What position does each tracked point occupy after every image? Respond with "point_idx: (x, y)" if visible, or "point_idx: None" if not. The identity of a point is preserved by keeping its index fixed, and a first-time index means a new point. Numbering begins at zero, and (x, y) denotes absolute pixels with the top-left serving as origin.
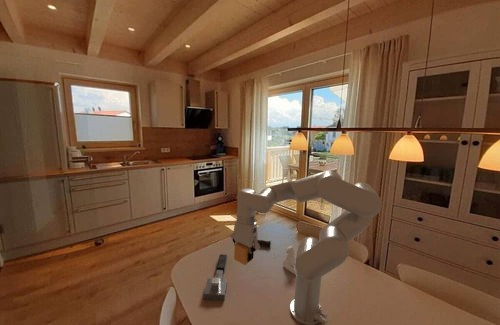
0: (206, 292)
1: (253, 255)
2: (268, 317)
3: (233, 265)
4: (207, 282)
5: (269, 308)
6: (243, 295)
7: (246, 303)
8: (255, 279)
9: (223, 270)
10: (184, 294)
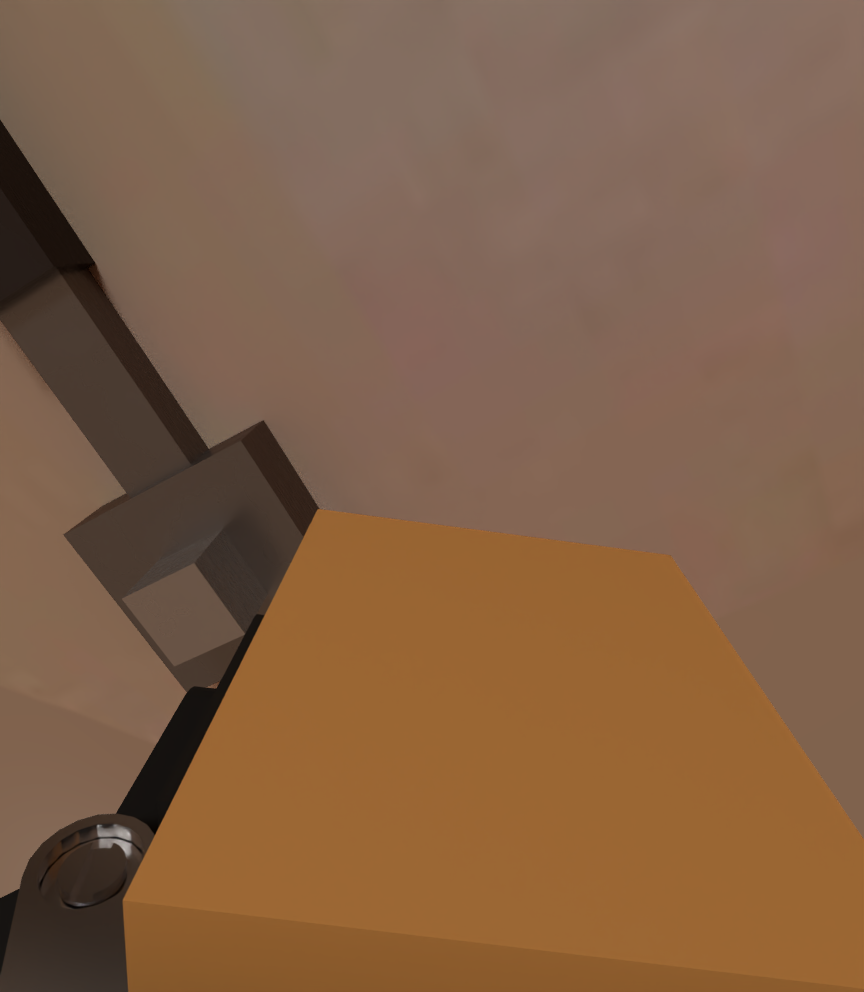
0: (198, 672)
1: (699, 604)
2: (805, 553)
3: (84, 51)
4: (104, 578)
5: (792, 466)
6: (490, 453)
7: (562, 519)
8: (502, 151)
9: (71, 269)
10: (43, 681)
